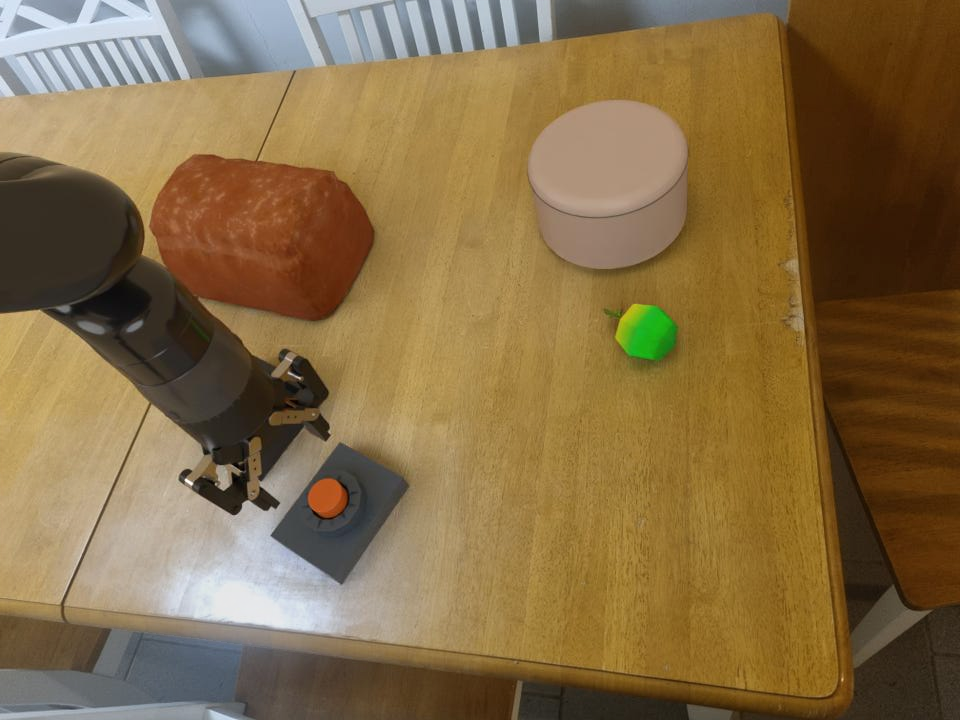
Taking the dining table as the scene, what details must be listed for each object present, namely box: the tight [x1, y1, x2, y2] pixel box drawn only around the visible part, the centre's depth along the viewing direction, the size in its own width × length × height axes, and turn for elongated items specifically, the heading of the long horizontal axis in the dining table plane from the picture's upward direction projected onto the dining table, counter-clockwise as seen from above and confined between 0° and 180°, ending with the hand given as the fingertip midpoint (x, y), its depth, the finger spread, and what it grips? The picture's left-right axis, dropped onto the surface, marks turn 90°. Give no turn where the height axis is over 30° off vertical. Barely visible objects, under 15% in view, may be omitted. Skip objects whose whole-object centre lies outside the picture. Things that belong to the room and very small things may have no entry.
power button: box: [308, 478, 348, 518], centre depth 74 cm, size 4×4×2 cm
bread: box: [148, 153, 375, 322], centre depth 94 cm, size 17×24×15 cm
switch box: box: [269, 441, 410, 586], centre depth 76 cm, size 12×9×4 cm
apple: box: [601, 303, 679, 362], centre depth 78 cm, size 7×6×9 cm
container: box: [526, 99, 690, 270], centre depth 86 cm, size 18×18×12 cm
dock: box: [180, 354, 324, 482], centre depth 85 cm, size 12×12×4 cm
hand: (296, 468), depth 68 cm, fingers open, 7 cm apart
